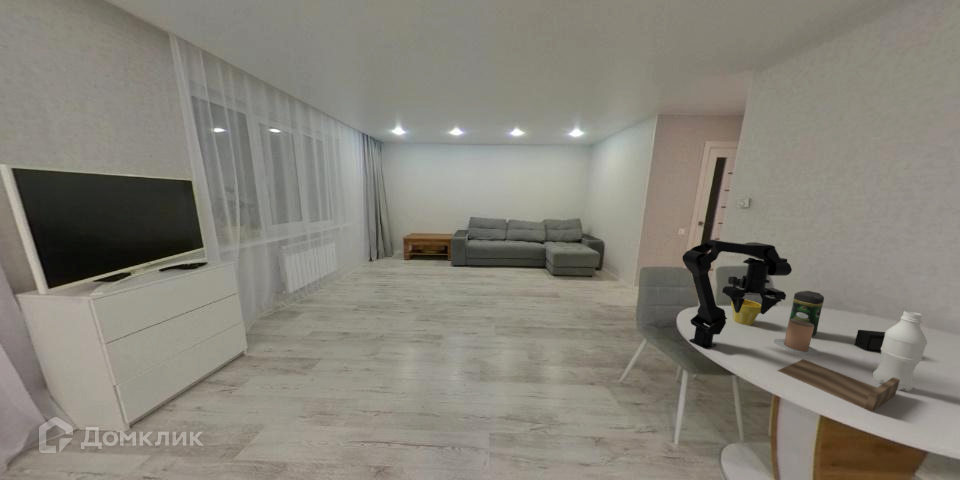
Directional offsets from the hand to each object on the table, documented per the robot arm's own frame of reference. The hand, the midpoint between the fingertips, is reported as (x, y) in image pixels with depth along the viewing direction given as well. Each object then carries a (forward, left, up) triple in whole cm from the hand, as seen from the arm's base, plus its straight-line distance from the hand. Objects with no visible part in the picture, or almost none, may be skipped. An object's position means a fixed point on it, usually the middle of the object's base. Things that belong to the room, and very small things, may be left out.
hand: (749, 313), depth 110 cm
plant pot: (+24, +11, -13) cm, 29 cm away
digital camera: (+44, -22, -13) cm, 51 cm away
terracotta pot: (+14, -10, -12) cm, 21 cm away
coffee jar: (+36, -4, -13) cm, 39 cm away
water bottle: (+12, -32, -13) cm, 37 cm away
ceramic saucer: (+14, -10, -13) cm, 21 cm away
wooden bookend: (-4, -24, -13) cm, 28 cm away
